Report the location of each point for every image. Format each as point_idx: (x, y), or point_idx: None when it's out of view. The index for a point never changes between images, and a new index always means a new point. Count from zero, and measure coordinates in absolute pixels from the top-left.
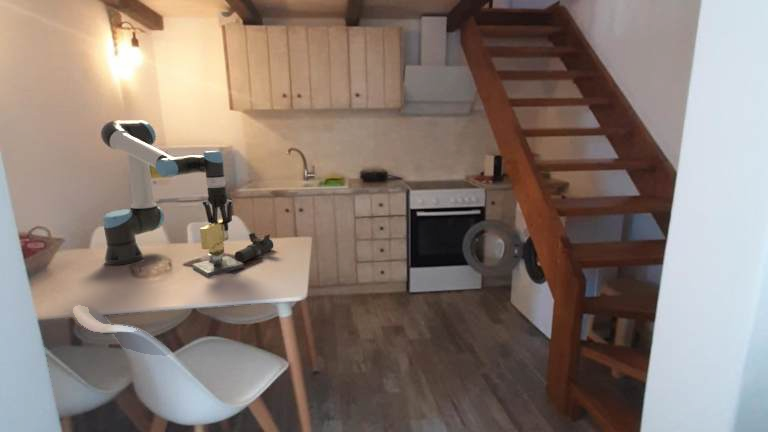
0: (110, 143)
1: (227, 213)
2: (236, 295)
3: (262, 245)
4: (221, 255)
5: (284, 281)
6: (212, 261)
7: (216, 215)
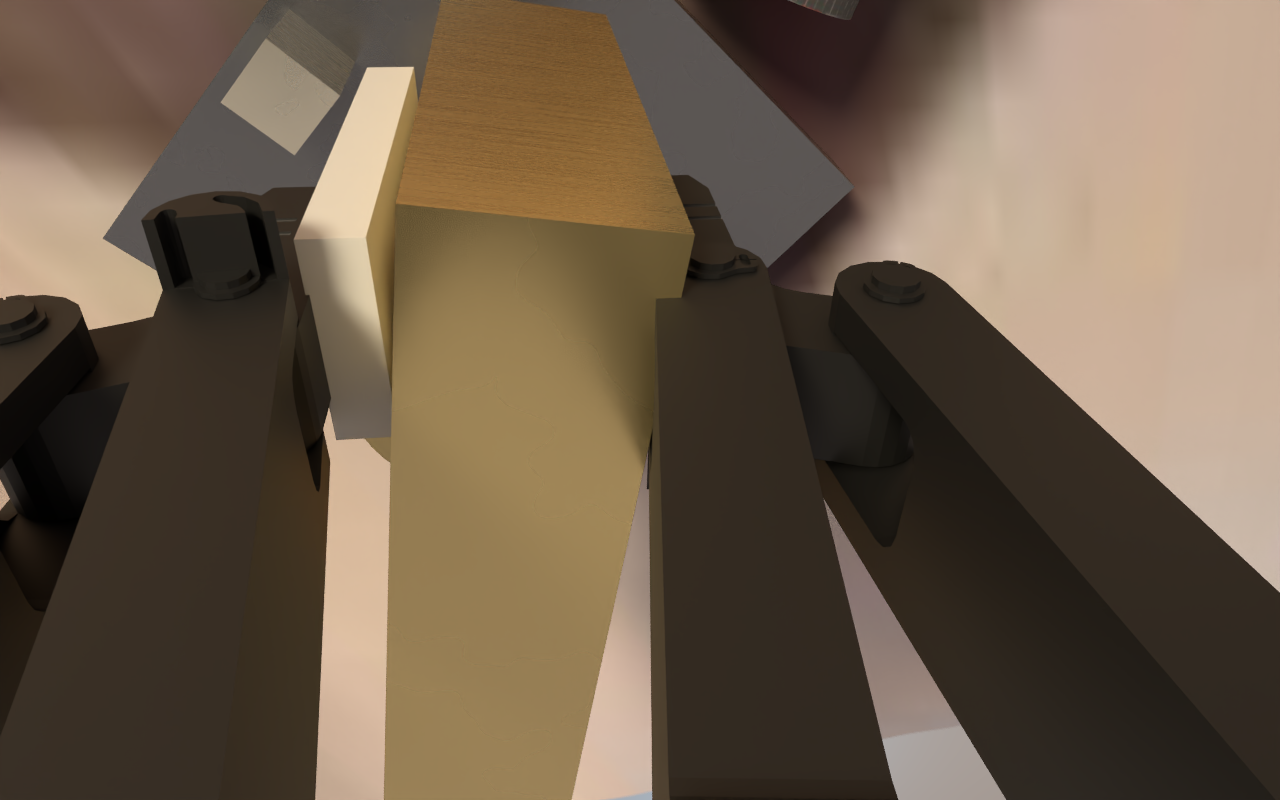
0: None
1: (980, 738)
2: (900, 701)
3: None
4: None
5: (1258, 483)
6: (344, 111)
7: (290, 573)
